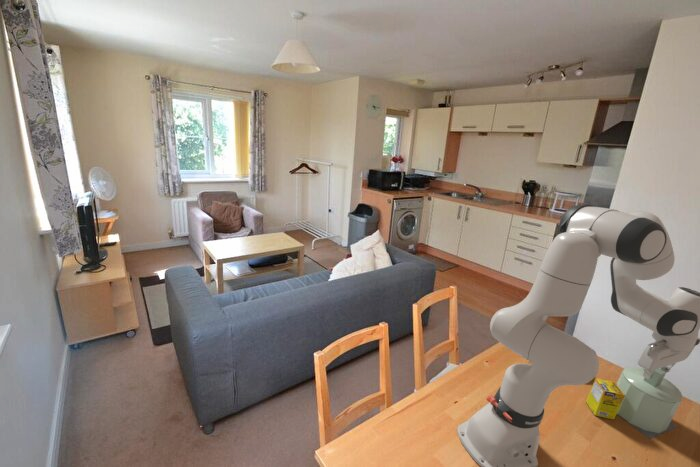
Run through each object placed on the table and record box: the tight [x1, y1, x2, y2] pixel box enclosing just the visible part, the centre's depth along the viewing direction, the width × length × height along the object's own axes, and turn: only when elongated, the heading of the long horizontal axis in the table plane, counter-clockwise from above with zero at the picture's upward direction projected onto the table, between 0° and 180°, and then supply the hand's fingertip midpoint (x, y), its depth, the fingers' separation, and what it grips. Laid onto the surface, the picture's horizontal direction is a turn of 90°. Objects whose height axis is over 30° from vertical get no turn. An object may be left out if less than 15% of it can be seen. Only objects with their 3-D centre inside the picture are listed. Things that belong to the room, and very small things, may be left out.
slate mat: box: [616, 414, 678, 440], centre depth 106 cm, size 15×15×1 cm
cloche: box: [616, 366, 683, 433], centre depth 103 cm, size 14×14×18 cm
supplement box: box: [585, 377, 625, 421], centre depth 104 cm, size 6×6×11 cm
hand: (655, 374), depth 101 cm, fingers open, 8 cm apart
